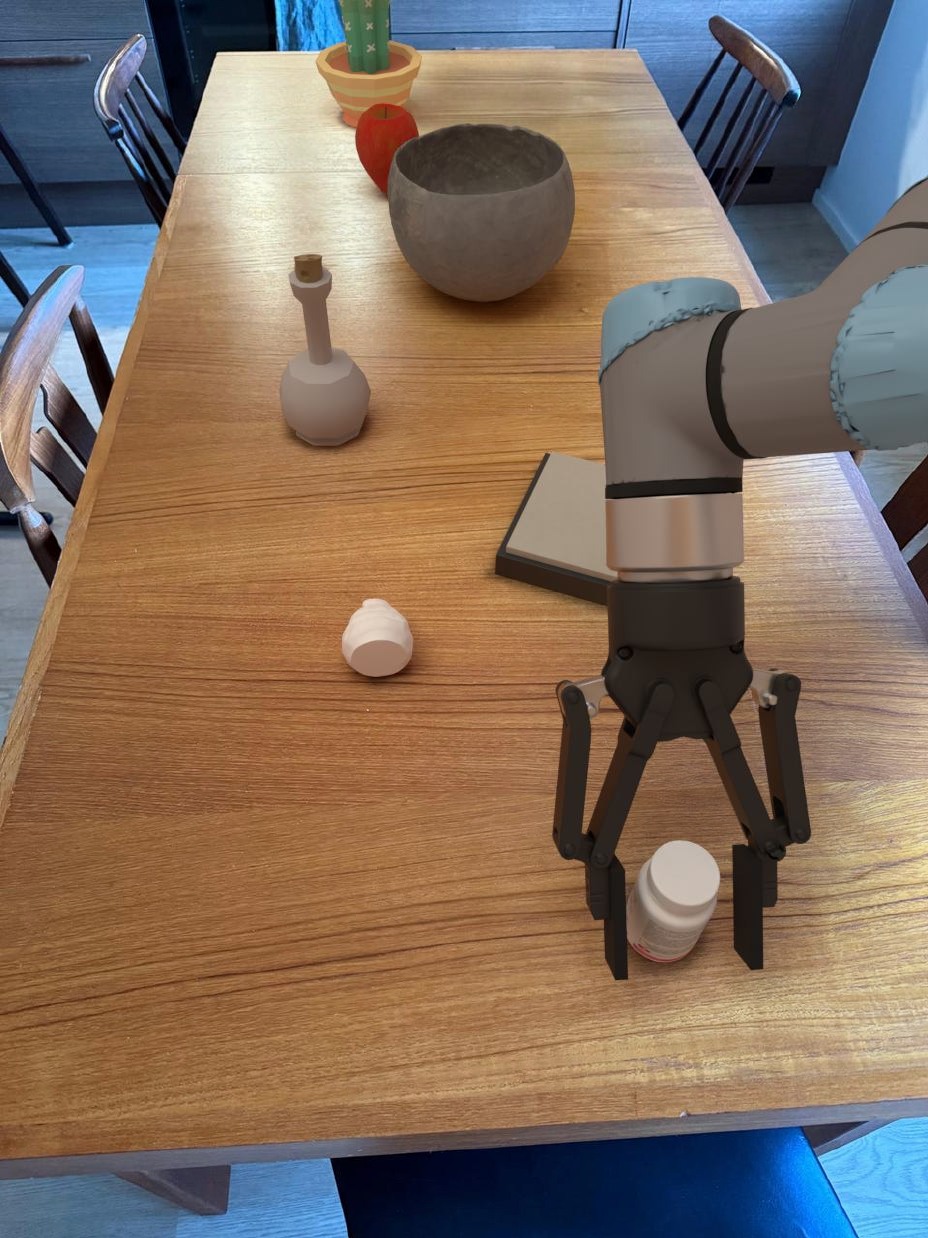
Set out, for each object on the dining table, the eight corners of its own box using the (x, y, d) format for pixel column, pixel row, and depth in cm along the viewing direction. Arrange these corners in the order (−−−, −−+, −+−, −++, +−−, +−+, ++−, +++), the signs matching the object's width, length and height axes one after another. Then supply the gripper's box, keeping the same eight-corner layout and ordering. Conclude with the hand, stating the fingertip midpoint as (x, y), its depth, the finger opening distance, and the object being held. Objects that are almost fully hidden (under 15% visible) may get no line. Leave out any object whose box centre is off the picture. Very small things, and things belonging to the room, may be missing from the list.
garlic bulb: (408, 616, 74) (405, 572, 69) (416, 675, 70) (414, 632, 66) (341, 623, 73) (335, 579, 69) (345, 683, 69) (339, 640, 65)
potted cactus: (383, 88, 142) (373, -111, 123) (444, 120, 135) (443, -86, 115) (301, 113, 136) (276, -93, 116) (360, 148, 128) (344, -65, 109)
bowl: (581, 253, 111) (596, 124, 99) (546, 346, 98) (558, 211, 86) (422, 229, 114) (419, 102, 102) (368, 316, 101) (358, 182, 90)
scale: (711, 514, 82) (719, 488, 79) (678, 626, 73) (686, 601, 71) (543, 471, 85) (546, 445, 83) (494, 573, 77) (496, 547, 74)
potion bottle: (288, 458, 86) (257, 285, 72) (282, 401, 91) (252, 230, 77) (379, 447, 87) (366, 275, 73) (367, 392, 92) (353, 222, 79)
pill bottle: (712, 940, 57) (745, 887, 50) (652, 978, 55) (679, 929, 49) (665, 878, 60) (692, 820, 53) (607, 912, 58) (626, 857, 52)
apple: (346, 187, 121) (338, 100, 112) (400, 172, 124) (397, 86, 115) (378, 213, 116) (372, 125, 108) (433, 196, 119) (432, 109, 111)
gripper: (818, 563, 55) (819, 923, 57) (490, 579, 53) (505, 946, 56) (882, 568, 47) (881, 983, 49) (503, 587, 46) (520, 1011, 48)
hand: (682, 963), depth 53 cm, fingers open, 7 cm apart
